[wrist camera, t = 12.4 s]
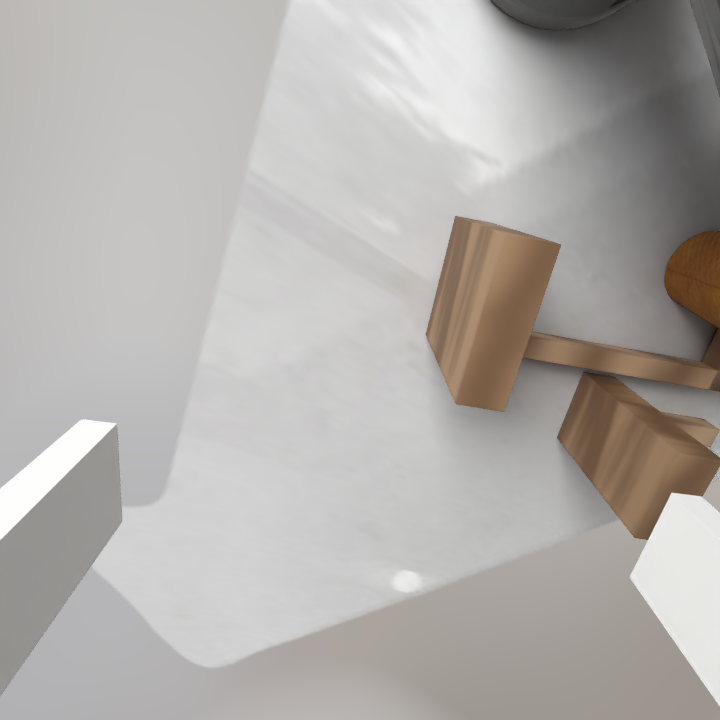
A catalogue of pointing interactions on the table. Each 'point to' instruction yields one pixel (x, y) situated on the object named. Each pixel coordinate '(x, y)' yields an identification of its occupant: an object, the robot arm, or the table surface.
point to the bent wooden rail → (522, 321)
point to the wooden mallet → (636, 450)
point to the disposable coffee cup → (697, 276)
